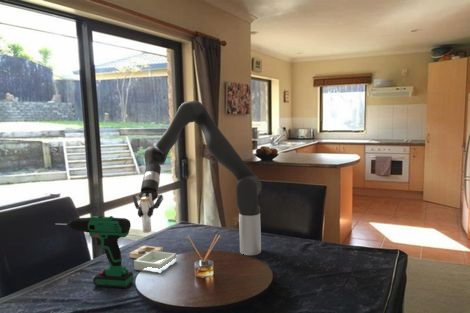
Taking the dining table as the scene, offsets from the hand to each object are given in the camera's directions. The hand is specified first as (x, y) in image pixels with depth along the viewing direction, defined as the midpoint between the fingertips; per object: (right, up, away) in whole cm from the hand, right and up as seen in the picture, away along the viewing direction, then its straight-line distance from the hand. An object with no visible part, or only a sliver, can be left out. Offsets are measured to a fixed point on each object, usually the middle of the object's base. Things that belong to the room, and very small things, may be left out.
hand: (144, 216), depth 157 cm
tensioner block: (0, -17, +3) cm, 17 cm away
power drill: (-12, -21, -25) cm, 34 cm away
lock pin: (0, -7, +3) cm, 8 cm away
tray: (+7, -18, -10) cm, 22 cm away
